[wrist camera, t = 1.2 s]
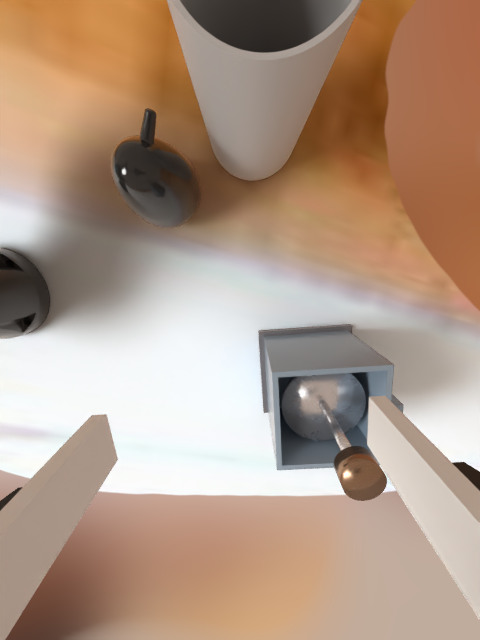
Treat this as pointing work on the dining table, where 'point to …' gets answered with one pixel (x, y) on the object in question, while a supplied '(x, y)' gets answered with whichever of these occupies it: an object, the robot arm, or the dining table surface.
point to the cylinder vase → (259, 72)
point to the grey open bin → (317, 359)
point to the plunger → (334, 426)
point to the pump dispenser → (155, 177)
